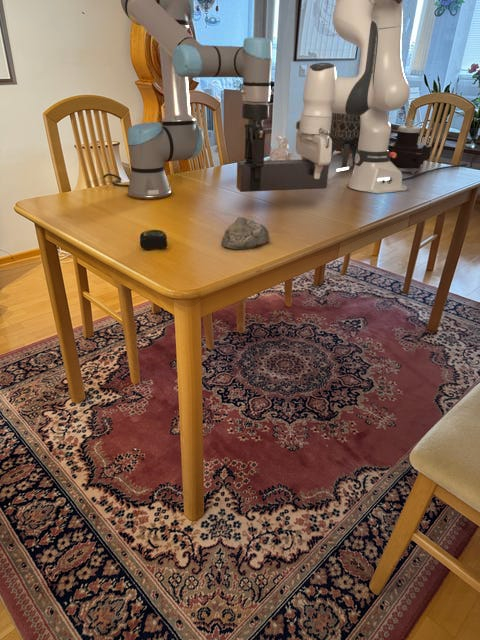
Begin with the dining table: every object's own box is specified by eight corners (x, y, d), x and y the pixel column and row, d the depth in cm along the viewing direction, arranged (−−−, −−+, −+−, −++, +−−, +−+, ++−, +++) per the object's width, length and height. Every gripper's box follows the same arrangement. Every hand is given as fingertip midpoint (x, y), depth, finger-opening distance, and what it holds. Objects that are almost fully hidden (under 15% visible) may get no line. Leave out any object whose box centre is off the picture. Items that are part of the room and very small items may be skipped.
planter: (313, 167, 208) (319, 103, 195) (331, 160, 222) (338, 101, 209) (353, 173, 199) (362, 107, 185) (369, 166, 213) (379, 104, 199)
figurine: (292, 163, 215) (294, 134, 209) (276, 168, 204) (278, 138, 198) (278, 161, 219) (279, 133, 212) (261, 166, 208) (262, 136, 202)
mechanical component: (377, 119, 195) (405, 114, 215) (369, 169, 206) (397, 160, 225) (427, 124, 183) (452, 118, 203) (415, 177, 194) (441, 167, 213)
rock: (255, 233, 128) (256, 211, 124) (276, 242, 122) (278, 219, 119) (217, 244, 120) (217, 220, 117) (239, 254, 115) (239, 230, 111)
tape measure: (140, 252, 115) (139, 238, 113) (141, 242, 120) (140, 229, 119) (167, 251, 116) (166, 237, 114) (167, 241, 121) (166, 228, 120)
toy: (334, 147, 234) (333, 142, 247) (337, 160, 237) (336, 154, 250) (356, 140, 231) (354, 135, 243) (359, 153, 234) (356, 147, 246)
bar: (320, 184, 145) (323, 158, 141) (326, 188, 141) (329, 162, 137) (236, 187, 139) (237, 161, 135) (240, 192, 135) (241, 164, 131)
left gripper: (235, 100, 132) (234, 181, 144) (251, 106, 117) (248, 196, 129) (259, 100, 134) (256, 180, 146) (278, 106, 119) (273, 194, 131)
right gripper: (340, 131, 125) (333, 182, 132) (313, 122, 142) (308, 167, 149) (318, 131, 123) (313, 183, 130) (294, 122, 141) (290, 168, 148)
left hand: (252, 187), depth 137 cm, fingers closed on bar, 5 cm apart
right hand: (310, 174), depth 140 cm, fingers open, 8 cm apart
